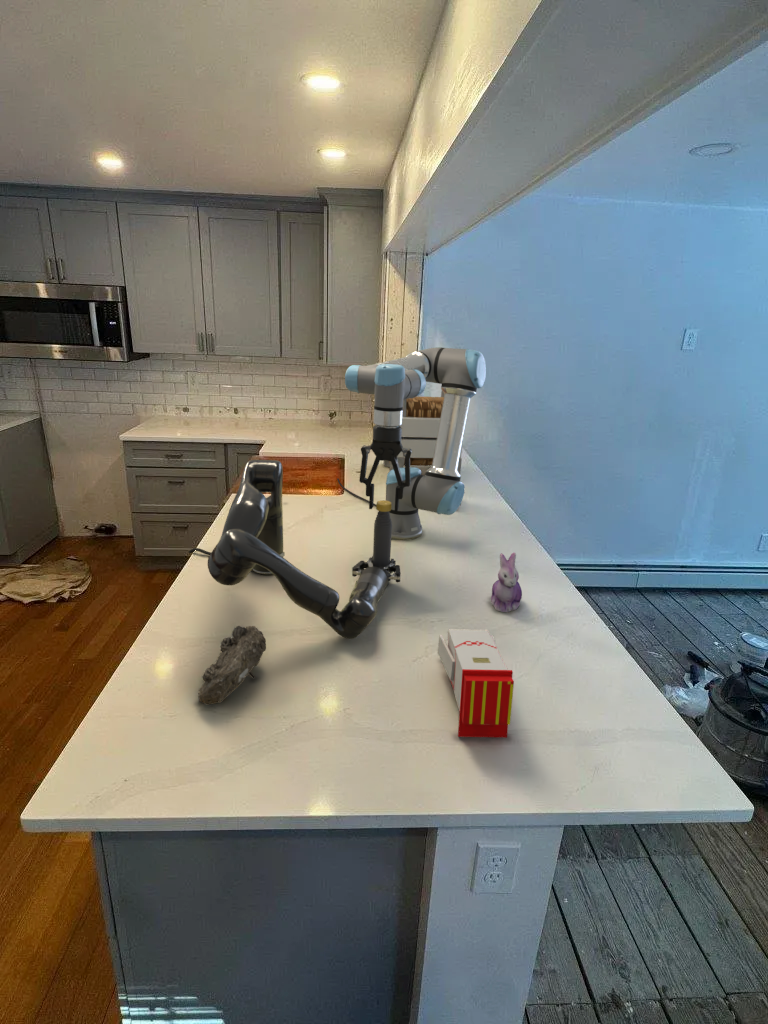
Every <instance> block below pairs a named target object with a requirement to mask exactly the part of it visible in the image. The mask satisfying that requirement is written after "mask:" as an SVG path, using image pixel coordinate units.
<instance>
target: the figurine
mask: <svg viewBox="0 0 768 1024" xmlns="http://www.w3.org/2000/svg"><path fill="white" fill-rule="evenodd" d="M516 558H517V554H516V552H514V551H513V552H512V553H511V554H510V556H509V558H508V559H507V558H506V556H505V554H504V553H499V566H500V568H499V570H498V573H497V578H498V579H497V580H496V581H495V582H494V583H493V584H492V588H491V596H490V603H491V605H492V607H494V609H495V610H496V611H498V612H503V613H511V611H516V610H517V609H518V608H519V606H520V604H521V601H522V598H523V591H522V587H521V585H520V583H519V579H520V575H519V572H518V569H517V567H516Z"/></svg>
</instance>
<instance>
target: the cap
mask: <svg viewBox="0 0 768 1024" xmlns="http://www.w3.org/2000/svg"><path fill="white" fill-rule="evenodd" d="M375 504H376V506H375V507H376V510H377V512H379V511H381V512H388V511H391V508H392V504H391V502H390V501H386V499H385V500H377V501H376V503H375Z"/></svg>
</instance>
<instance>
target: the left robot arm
mask: <svg viewBox="0 0 768 1024" xmlns="http://www.w3.org/2000/svg"><path fill="white" fill-rule="evenodd" d="M283 483H284V468H283V464H282V462H281V461H279V460H276V459H250V460H248V461H247V462H246V463H245V464H244V467H243V471H242V474H241V479H240V483H239V486H238V489H237V492H236V493H235V495H234V498H233V500H232V503H231V505H230V507H229V510H228V513H227V517H226V519H225V522H224V525H223V528H222V533H221V535H220V538H219V540H218V542H217V544H216V545H215V546H214V547H213V549H212V551H211V552H210V551H207V550H205V549H202V548H199V547H194V548H191V549H190V550H188V553H189V554H192V553H194V552H199V553H202V554H204V555H207V556H208V558H207V569H208V572H209V574H210V576H211V577H212V579H213V580H215V582H217V583H218V584H220V585H223V586H235V585H238V584H240V583H241V582H243V581H244V580H245V579H246V578H247V577H248V575H249V574H250V573H251V571H252V572H254V573H256V574H258V575H273V576H274V577H275V579H276V580H277V581H278V583H279V584H280V586H281V587H282V589H283V591H284V592H285V594H286V595H287V596H288V598H289V599H290V600H291V602H293V603H294V604H295V605H297V606H298V607H300V608H302V609H304V610H306V612H307V611H308V612H309V613H311V614H313V615H315V616H317V617H318V618H320V619H321V620H322V621H323V622H324V623H326V624H327V625H328V626H329V627H331V629H332V630H333V631H334V632H335V633H336V634H337V635H339V637H341V638H343V639H346V640H347V639H348V640H353V639H356V638H357V637H359V636H360V635H361V634H362V633H363V632H364V630H366V628H368V626H369V625H370V624H371V623H372V622H373V620H374V619H375V617H376V616H377V613H378V604H379V601H380V599H381V598H382V597H383V594H384V592H385V590H386V588H387V586H388V585H387V583H388V582H389V583H390V582H391V580H394V581H395V582H396V583H401V576H402V575H401V574H402V573H401V572H402V571H401V565H399V564H397V563H396V561H397V560H395V558H391V557H390V563H389V565H385V566H383V567H374V566H373V555H372V556H371V557H369V558H368V559H367V560H366V561H365V560H360V561H358V562H357V563H356V564H355V565H353V566H352V567H351V569H352V570H351V571H352V572H351V577H353V578H354V577H357V576H359V577H357V580H356V581H355V584H354V587H353V589H352V591H351V593H350V595H349V599H348V602H347V603H346V604H345V606H344V607H343V608H342V609H341V610H338V609H337V607H338V605H339V602H340V594H339V592H338V591H337V590H335V588H334V589H333V587H330V586H329V585H326V584H325V583H323V582H321V581H319V580H318V579H315V578H313V577H311V576H310V575H308V574H307V573H305V572H304V571H302V570H301V569H299V568H298V567H296V566H295V565H294V564H292V563H291V562H290V561H289V560H288V559H286V558H285V555H286V554H285V551H284V516H283V514H284V512H283V511H284V510H283V488H284V487H283V485H284V484H283ZM263 493H266V494H267V493H269V494H270V495H269V496H267V497H266V496H265V495H264V494H263ZM195 550H196V551H195ZM386 585H387V586H386Z"/></svg>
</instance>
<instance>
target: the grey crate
mask: <svg viewBox="0 0 768 1024" xmlns="http://www.w3.org/2000/svg"><path fill="white" fill-rule="evenodd" d="M440 393H441V394H440V396H419V395H418V396H416V397H415V398H409V399H404V400H403V416H402V425H401V426H400V427H401V428H402V435H401V444H402V446H403V448H406V449H412V453H411V456H410V467H417V466H418V467H431V466H432V462H433V457H434V451H435V445H436V440H437V434H438V429H439V423H440V417H441V412H442V406H443V400H444V392H443V391H442V390H441V392H440ZM463 442H464V441H463ZM463 442H462V444H463ZM462 453H463V446H462V447H461V453H460V458H459V464H458V469H457V471H458V473H459V474H460V475H461V472H462V461H463V460H462ZM397 459H398V464H399V468H405V457H404V456H403V452H400V454H399V455H398V456H397ZM383 466H384V467H388V468H389V472H390V471H391V470H393V465H392V463H391V461H387V460H384V461H383Z"/></svg>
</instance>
